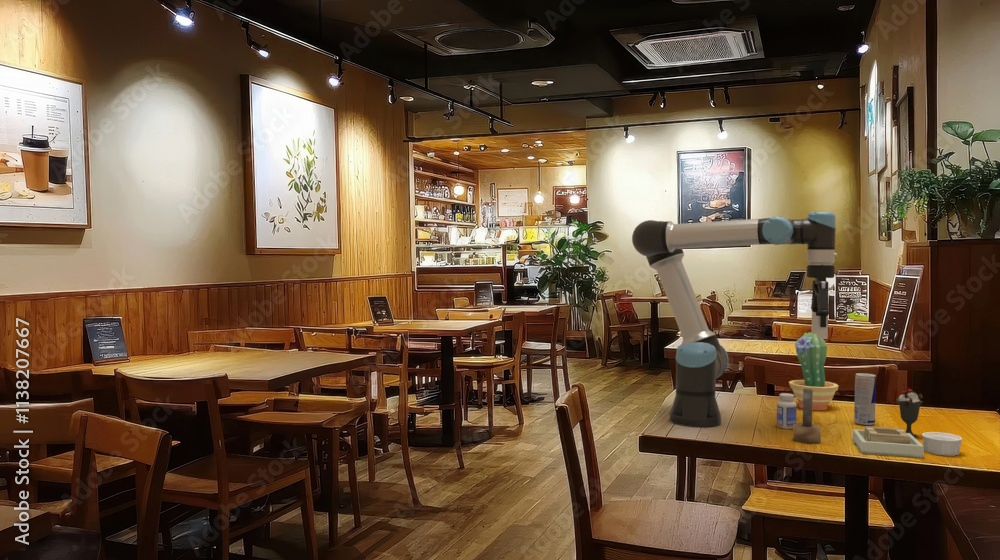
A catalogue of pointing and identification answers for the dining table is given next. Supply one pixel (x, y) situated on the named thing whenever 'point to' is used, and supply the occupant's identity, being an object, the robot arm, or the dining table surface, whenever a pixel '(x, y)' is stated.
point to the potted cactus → (813, 372)
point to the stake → (807, 422)
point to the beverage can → (865, 399)
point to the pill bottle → (786, 411)
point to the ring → (886, 435)
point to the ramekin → (941, 443)
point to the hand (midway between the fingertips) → (819, 336)
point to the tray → (888, 446)
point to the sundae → (909, 408)
